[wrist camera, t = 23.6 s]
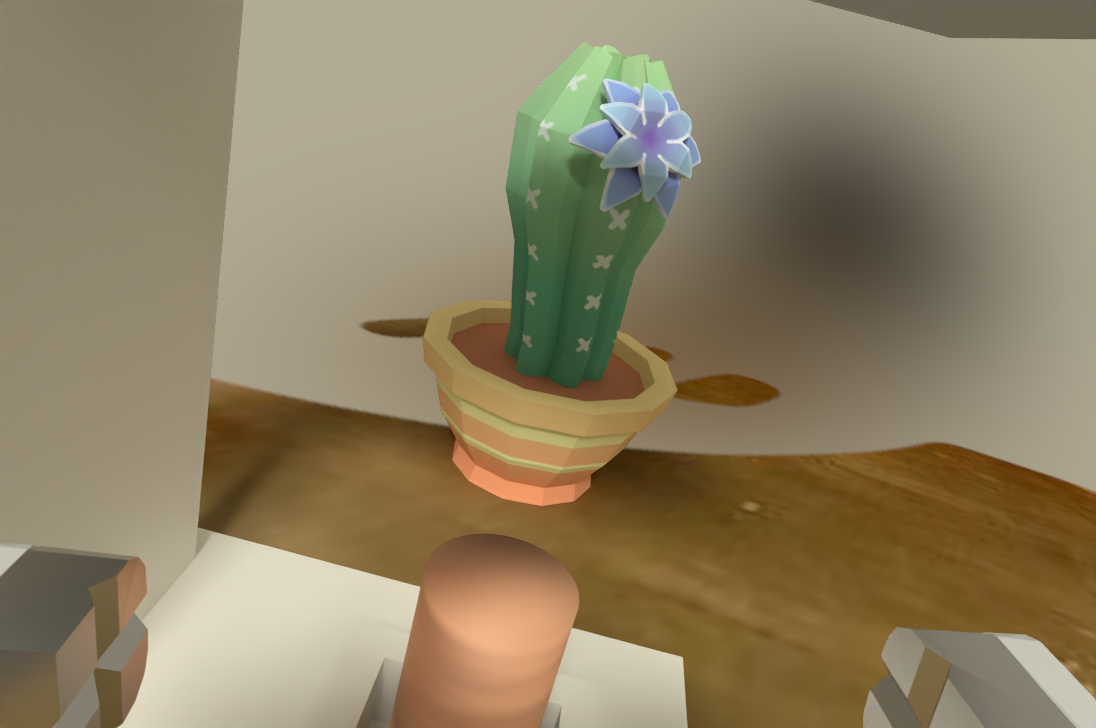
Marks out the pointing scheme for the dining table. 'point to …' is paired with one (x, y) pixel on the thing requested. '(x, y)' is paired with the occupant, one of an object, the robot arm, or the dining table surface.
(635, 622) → the dining table surface
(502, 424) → the potted cactus
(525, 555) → the peg
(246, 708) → the awning socket
